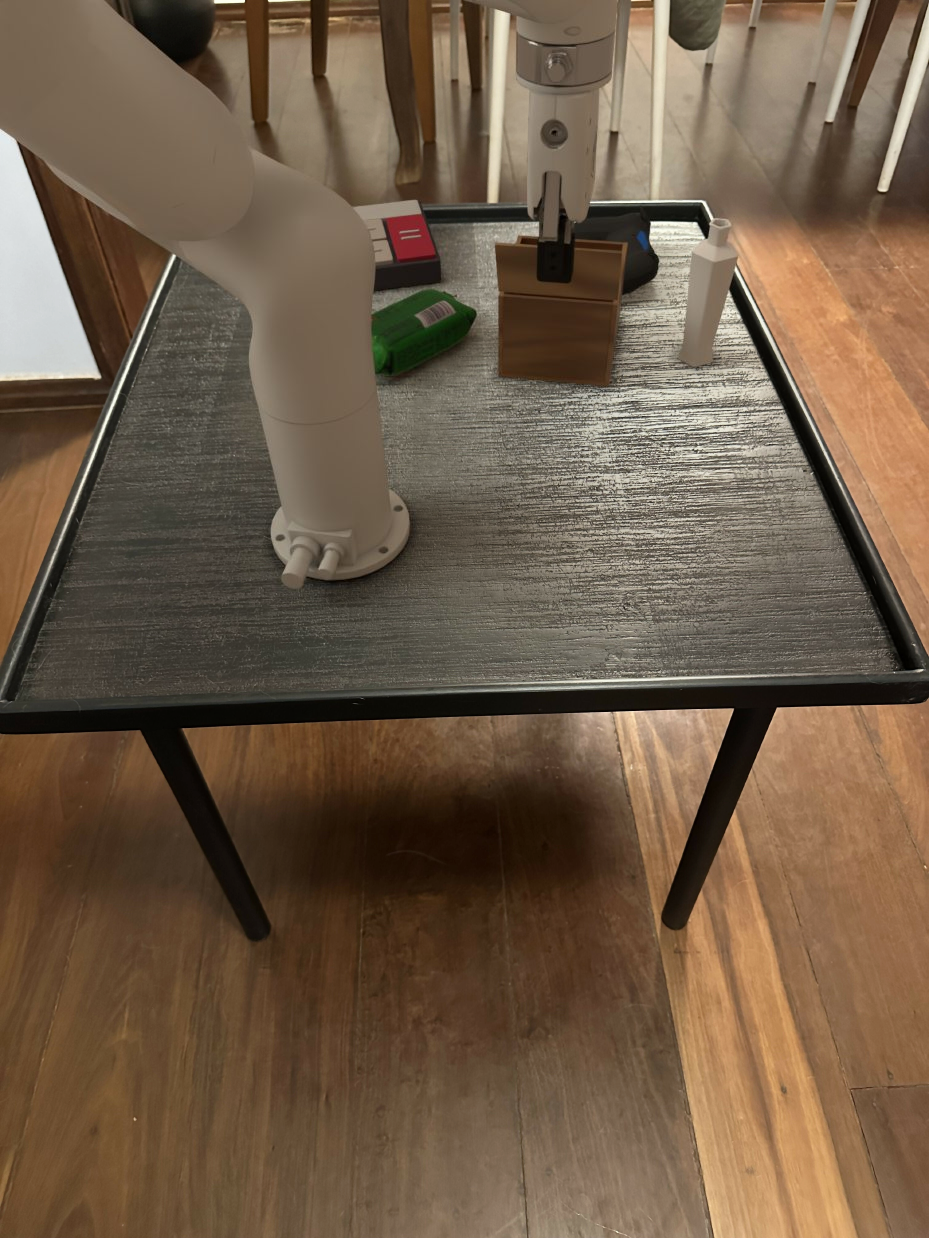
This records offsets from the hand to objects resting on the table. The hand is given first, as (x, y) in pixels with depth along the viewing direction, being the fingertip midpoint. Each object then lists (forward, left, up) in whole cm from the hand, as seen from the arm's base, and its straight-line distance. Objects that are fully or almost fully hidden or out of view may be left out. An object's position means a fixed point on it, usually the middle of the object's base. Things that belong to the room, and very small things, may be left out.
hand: (554, 277), depth 84 cm
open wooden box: (+11, 0, -15) cm, 18 cm away
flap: (+4, 0, -1) cm, 4 cm away
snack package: (+8, +16, -15) cm, 23 cm away
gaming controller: (+28, -4, -15) cm, 32 cm away
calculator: (+28, +24, -15) cm, 40 cm away
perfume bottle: (+12, -15, -15) cm, 24 cm away
